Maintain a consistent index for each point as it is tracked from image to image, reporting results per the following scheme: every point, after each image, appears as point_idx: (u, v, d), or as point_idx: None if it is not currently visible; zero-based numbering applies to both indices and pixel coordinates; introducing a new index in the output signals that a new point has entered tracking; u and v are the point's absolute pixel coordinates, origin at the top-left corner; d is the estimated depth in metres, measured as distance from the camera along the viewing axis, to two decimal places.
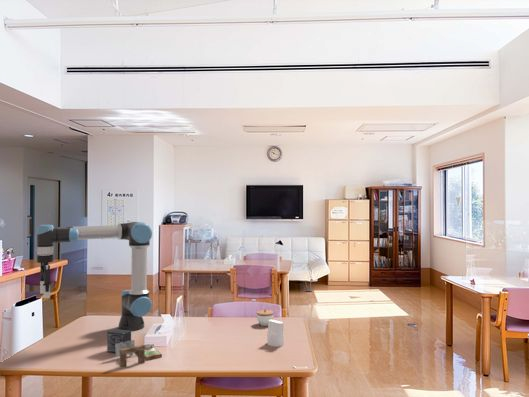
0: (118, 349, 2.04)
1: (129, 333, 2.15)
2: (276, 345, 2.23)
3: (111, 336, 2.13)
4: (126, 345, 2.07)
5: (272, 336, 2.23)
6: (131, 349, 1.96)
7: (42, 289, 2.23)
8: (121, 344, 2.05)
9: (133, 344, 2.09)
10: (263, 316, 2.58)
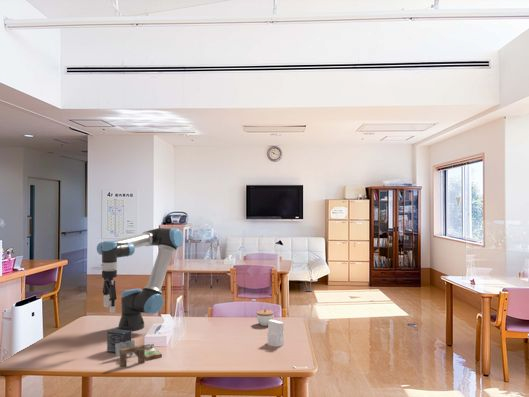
0: (118, 349, 2.04)
1: (129, 333, 2.15)
2: (276, 345, 2.23)
3: (111, 336, 2.13)
4: (126, 345, 2.07)
5: (272, 336, 2.23)
6: (131, 349, 1.96)
7: (105, 303, 2.30)
8: (121, 344, 2.05)
9: (133, 344, 2.09)
10: (263, 316, 2.58)
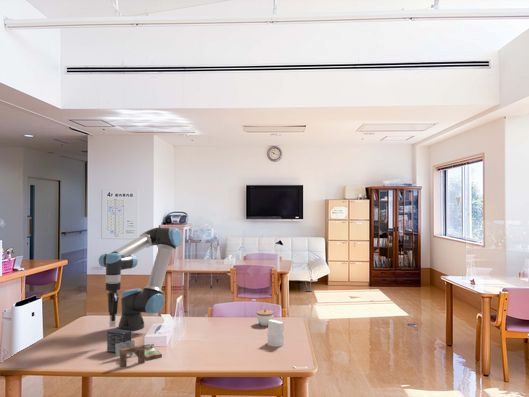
0: (118, 349, 2.04)
1: (129, 333, 2.15)
2: (276, 345, 2.23)
3: (111, 336, 2.13)
4: (126, 345, 2.07)
5: (272, 336, 2.23)
6: (131, 349, 1.96)
7: None
8: (121, 344, 2.05)
9: (133, 344, 2.09)
10: (263, 316, 2.58)
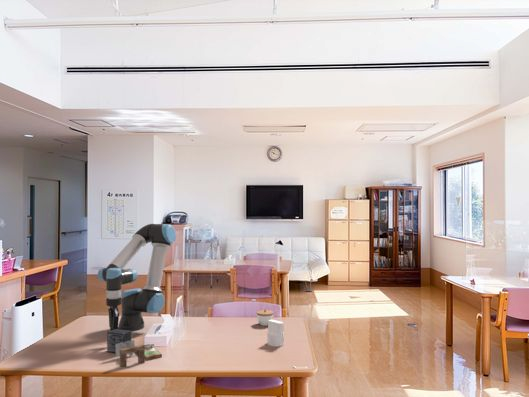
0: (118, 349, 2.04)
1: (129, 333, 2.15)
2: (276, 345, 2.23)
3: (111, 336, 2.13)
4: (126, 345, 2.07)
5: (272, 336, 2.23)
6: (131, 349, 1.96)
7: None
8: (121, 344, 2.05)
9: (133, 344, 2.09)
10: (263, 316, 2.58)
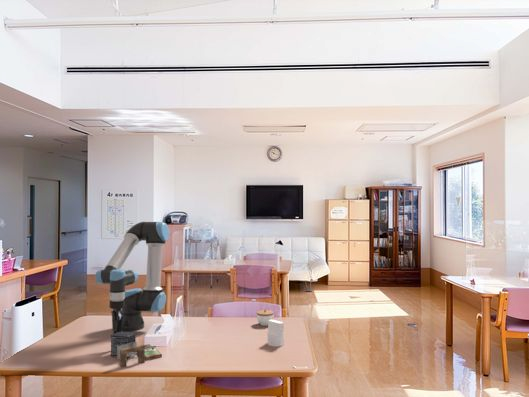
0: None
1: (134, 336, 2.10)
2: (276, 345, 2.23)
3: (115, 340, 2.08)
4: (128, 347, 2.04)
5: (272, 336, 2.23)
6: (131, 349, 1.96)
7: None
8: (123, 346, 2.03)
9: None
10: (263, 316, 2.58)
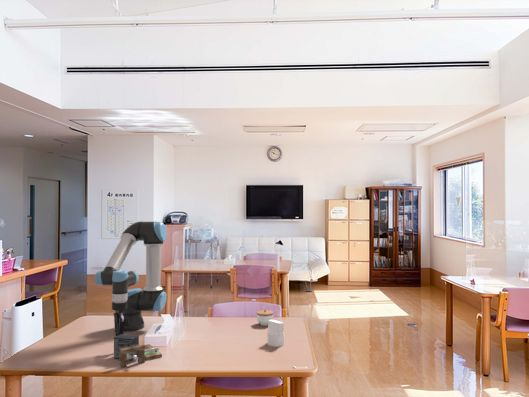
0: None
1: (137, 338, 2.07)
2: (276, 345, 2.23)
3: (118, 342, 2.04)
4: None
5: (272, 336, 2.23)
6: (131, 349, 1.96)
7: None
8: None
9: None
10: (263, 316, 2.58)
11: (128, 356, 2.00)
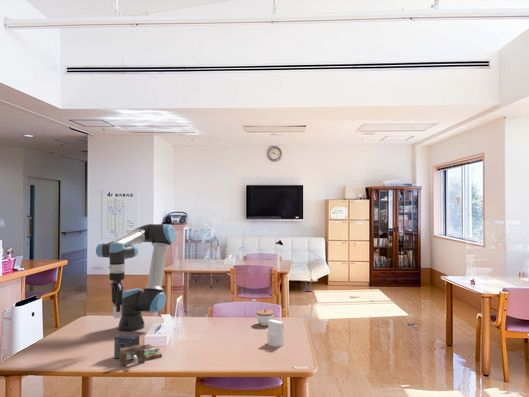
0: None
1: (137, 338, 2.07)
2: (276, 345, 2.23)
3: (118, 342, 2.04)
4: None
5: (272, 336, 2.23)
6: (131, 349, 1.96)
7: (115, 312, 2.20)
8: None
9: None
10: (263, 316, 2.58)
11: (128, 356, 2.00)
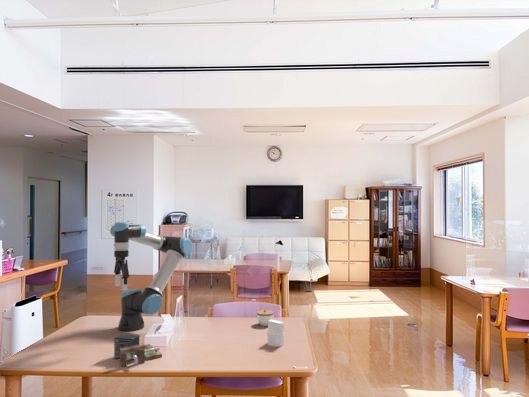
0: None
1: (137, 338, 2.07)
2: (276, 345, 2.23)
3: (118, 342, 2.04)
4: None
5: (272, 336, 2.23)
6: (131, 349, 1.96)
7: (117, 282, 2.39)
8: None
9: None
10: (263, 316, 2.58)
11: (128, 356, 2.00)
